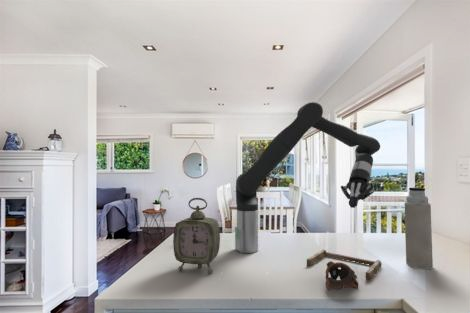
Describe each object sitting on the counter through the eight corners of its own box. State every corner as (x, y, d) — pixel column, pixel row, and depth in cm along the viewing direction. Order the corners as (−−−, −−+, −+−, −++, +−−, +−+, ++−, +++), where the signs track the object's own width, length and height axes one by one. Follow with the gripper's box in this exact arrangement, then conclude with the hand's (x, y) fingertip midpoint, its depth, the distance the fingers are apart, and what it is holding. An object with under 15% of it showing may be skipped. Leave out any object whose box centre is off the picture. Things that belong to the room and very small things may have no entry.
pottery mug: (368, 293, 78) (362, 272, 75) (341, 311, 76) (334, 290, 73) (341, 268, 89) (334, 249, 86) (317, 283, 87) (309, 264, 84)
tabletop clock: (172, 273, 92) (173, 198, 93) (183, 263, 101) (184, 196, 102) (213, 276, 89) (213, 199, 90) (221, 266, 97) (221, 196, 98)
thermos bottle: (403, 260, 103) (401, 186, 105) (428, 262, 101) (425, 187, 102) (409, 267, 96) (407, 188, 97) (436, 270, 93) (433, 188, 94)
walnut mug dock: (324, 255, 110) (324, 248, 110) (381, 266, 97) (381, 259, 97) (306, 266, 98) (306, 259, 98) (369, 281, 84) (369, 273, 85)
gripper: (342, 167, 118) (332, 198, 108) (376, 167, 109) (368, 201, 99) (346, 179, 122) (337, 210, 112) (379, 180, 113) (372, 214, 103)
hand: (352, 206), depth 106 cm, fingers closed
